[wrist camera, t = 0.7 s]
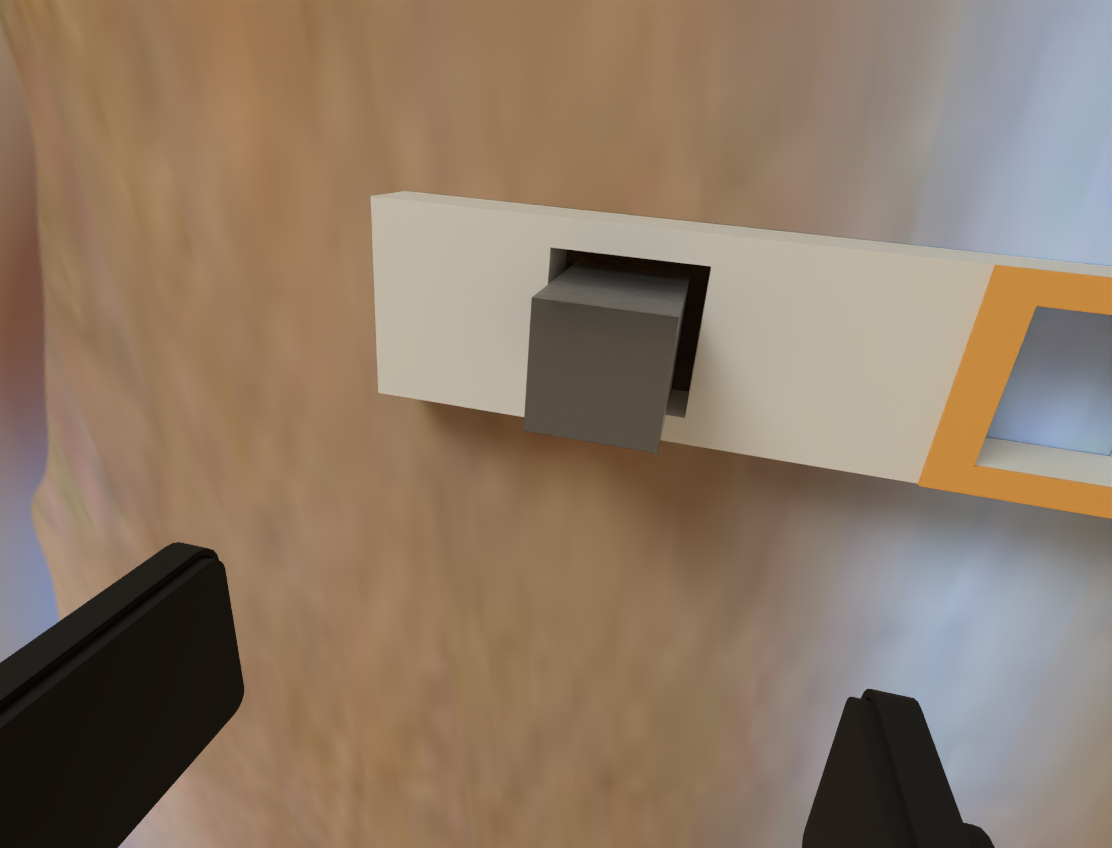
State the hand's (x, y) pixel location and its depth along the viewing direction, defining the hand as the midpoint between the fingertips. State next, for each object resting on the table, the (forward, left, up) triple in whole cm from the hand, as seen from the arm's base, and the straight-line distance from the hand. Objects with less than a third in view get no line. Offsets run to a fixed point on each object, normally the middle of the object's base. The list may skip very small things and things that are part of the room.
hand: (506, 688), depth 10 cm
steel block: (-1, -1, -20) cm, 20 cm away
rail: (-1, +7, -20) cm, 21 cm away
